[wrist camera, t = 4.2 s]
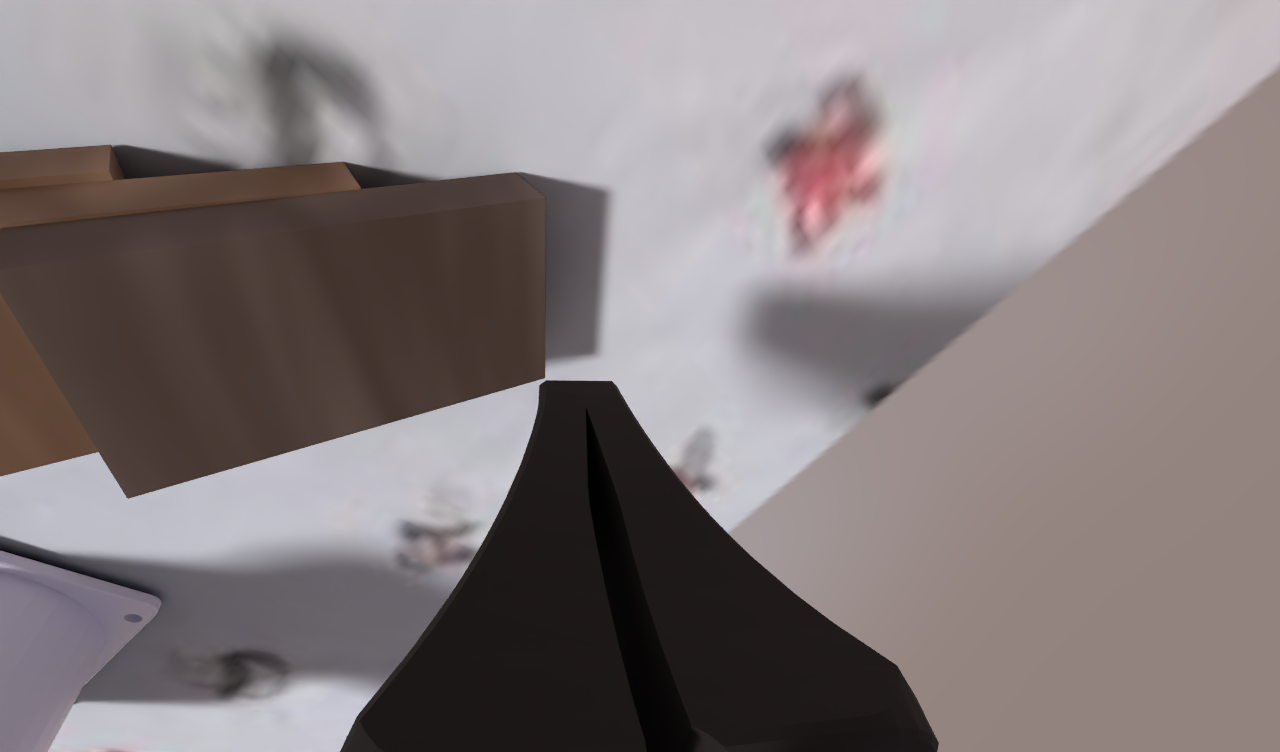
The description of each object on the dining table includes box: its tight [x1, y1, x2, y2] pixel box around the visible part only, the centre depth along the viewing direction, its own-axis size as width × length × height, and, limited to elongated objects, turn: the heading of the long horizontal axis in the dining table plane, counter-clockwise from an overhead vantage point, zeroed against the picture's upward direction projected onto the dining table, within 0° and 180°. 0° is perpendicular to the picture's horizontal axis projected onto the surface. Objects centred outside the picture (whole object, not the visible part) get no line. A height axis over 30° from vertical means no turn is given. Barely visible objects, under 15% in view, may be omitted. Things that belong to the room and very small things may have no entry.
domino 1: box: [0, 162, 361, 476], centre depth 12 cm, size 2×5×9 cm
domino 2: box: [0, 172, 546, 498], centre depth 13 cm, size 2×5×9 cm
